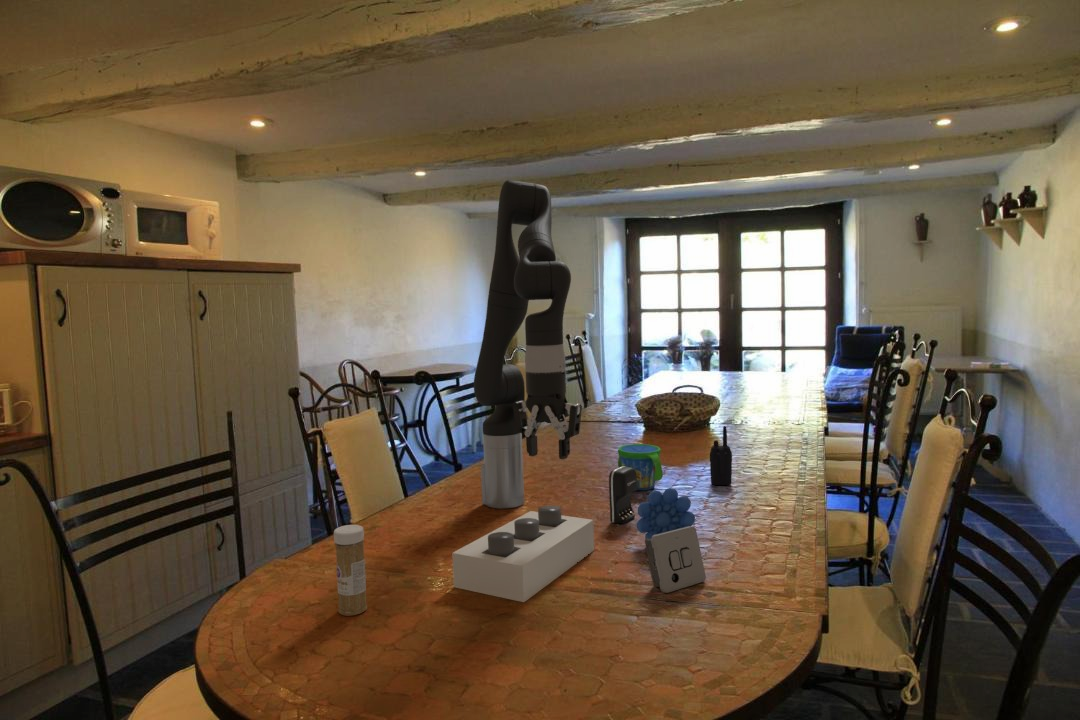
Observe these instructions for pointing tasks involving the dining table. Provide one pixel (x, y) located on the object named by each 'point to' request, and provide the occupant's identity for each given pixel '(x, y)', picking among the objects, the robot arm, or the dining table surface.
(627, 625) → the dining table surface
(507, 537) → the knob
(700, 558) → the electrical switch
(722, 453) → the two-way radio
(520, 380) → the robot arm
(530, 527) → the knob
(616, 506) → the battery charger
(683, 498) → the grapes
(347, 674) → the dining table surface
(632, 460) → the snack cup
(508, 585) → the knob panel
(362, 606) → the sprinkles bottle
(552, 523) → the knob
